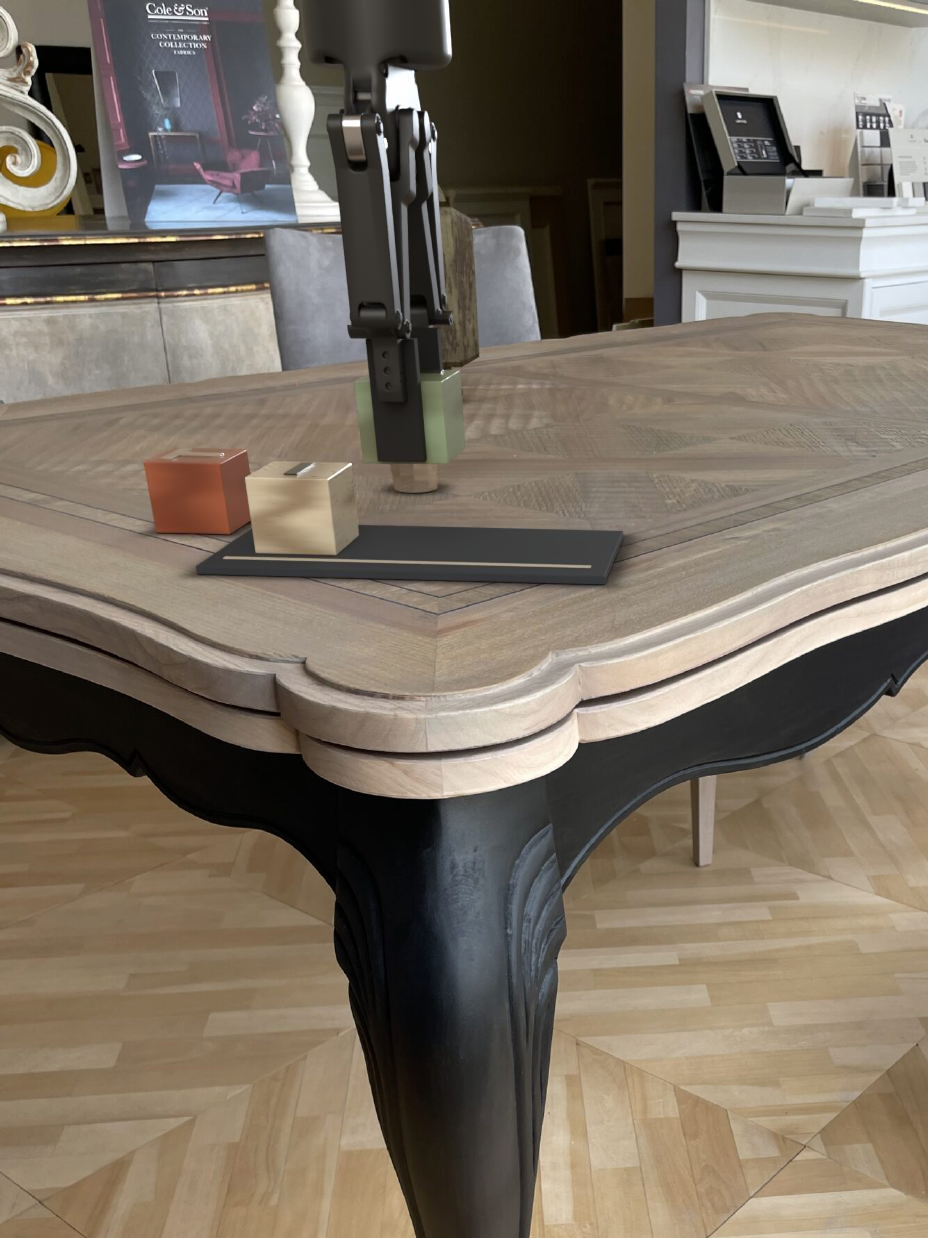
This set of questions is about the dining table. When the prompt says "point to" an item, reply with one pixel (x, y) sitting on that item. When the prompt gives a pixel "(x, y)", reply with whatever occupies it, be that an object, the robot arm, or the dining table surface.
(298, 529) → the slotted beige cube
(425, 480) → the milkshake
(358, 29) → the robot arm
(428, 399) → the frosted jade cube
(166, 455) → the copper orange cube
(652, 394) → the dining table surface
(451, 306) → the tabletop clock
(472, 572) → the word mat
